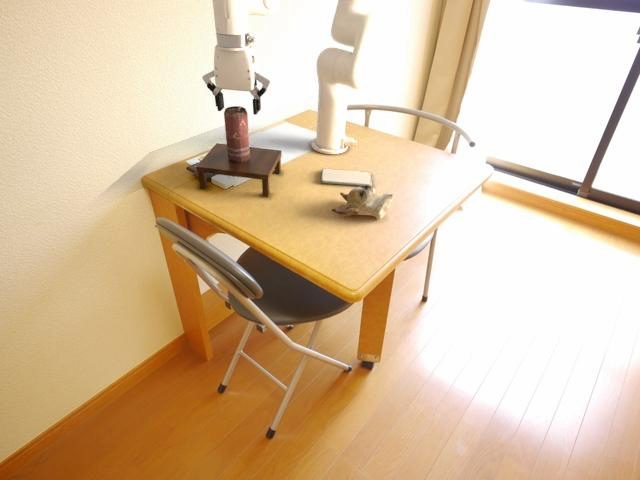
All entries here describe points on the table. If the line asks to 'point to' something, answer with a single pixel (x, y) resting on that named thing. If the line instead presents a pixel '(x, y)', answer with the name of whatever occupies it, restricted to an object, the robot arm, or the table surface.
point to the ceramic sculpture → (365, 202)
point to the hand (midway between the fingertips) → (238, 111)
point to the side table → (240, 165)
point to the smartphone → (346, 177)
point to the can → (237, 134)
